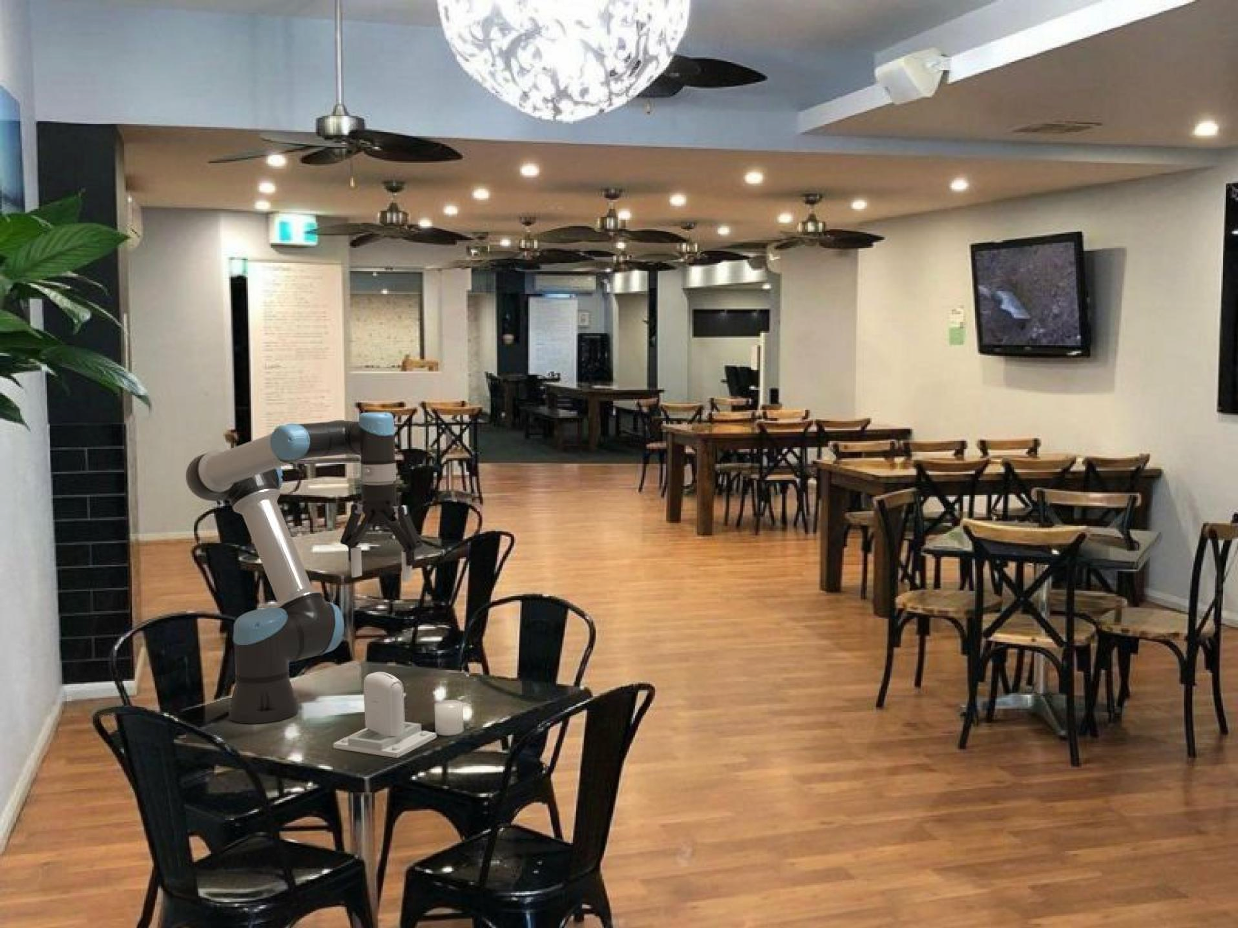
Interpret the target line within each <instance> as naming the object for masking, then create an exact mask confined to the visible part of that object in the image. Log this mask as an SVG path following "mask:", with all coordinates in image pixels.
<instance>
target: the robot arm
mask: <svg viewBox="0 0 1238 928" xmlns="http://www.w3.org/2000/svg"><path fill="white" fill-rule="evenodd" d="M394 421H395V420H394V416H393V414H392V413H390V412H388V411H387V412H385V411H384V412H380V411H379V412H376V411H375V412H362V413H360V414H359V416H358V421H357V420H355V421H354V420H345V419H338V420H337V419H336V420H335V419H334V420H329V421H326V422H325V421H324V422H323V421H322V422H311V423H289V424H285V425H283V424H282V425H279V426H277V427H275V428H274V430H273V431H272V432H271V433H270V434H267V435H264V436H262V437H259V438H256V439H253V440H251V441H248V442H245V443H243V444H241V445H237V446H234V447H233V448H232V447H231V448H229V449H226V450H224V451H217V450H216V451H215V450H214V451H213V450H212V451H210V452H206V453H203V454H200V455H197V456H196V457H194V458H193V459H192V460H191V461H190V463H189V464H188V466H187V467H186V471H185V481H186V485H187V486H188V489H189V490H190V492H191V493H192V494H194V495H195V496H197V497H198V498H200V499H202V500H203V501H204V500H205V501H210V502H219V501H220V502H221V501H229V503H230V505H231V507H232V510H233V512H235V513H237V514H240V515H242V518H243V519H244V522H245V525H246V527H247V530H248V533H249V535H250V537H251V539H252V542H253V544H254V547H255V550H256V552H257V555H258V557H259V559H260V562H261V564H262V567H263V568H264V572H265V575H266V576H267V577H266V578H267V579H268V582H269V584H270V586H271V589H272V592H273V594H274V596H275V597H274V598H275V600H276V602H277V604H276V606H275V607H266V608H258V609H254V610H251V611H247V612H245V613H243V614H241V615H240V616H238V617H237V619H235V621H234V624H233V636H232V641H233V646H234V647H233V649H234V670H235V672H234V673H235V685H234V688H233V693H232V697H231V700H230V704H229V706H228V718H229V720H230V721H233V722H236V723H240V724H267V723H273V722H279V721H284V720H286V719H289V718H292V717H294V716H295V715H297V714H298V712H299V701H298V698H297V697H296V695H295V692H294V689H293V686H292V683H291V681H290V680H291V679H290V667H289V666H290V665H289V664H290V663H292V662H293V663H294V662H297V661H300V660H305V659H308V658H312V657H317V656H318V657H320V656H323V655H324V654H327V653H329V652H332V651H334V650H335V649H336V648H338V646H339V645H340V644H341V642H342V639H343V634H344V632H345V630H344V629H345V621H344V617H343V612H342V611H341V608H339V606H338V605H336V604H335V603H333V602H330V601H326V600H325V598H324V594H323V593H322V592H321V591H320V590H318V589H315V588H313V586H312V583H311V582H310V579H309V576H308V573H307V572H306V569H305V567H304V565H303V561H302V559H301V557H300V555H299V551H298V550H297V547H296V545H295V542H294V539H293V537H292V535H291V533H290V530H289V528H288V524H287V523H286V521H285V518H284V516H283V513H282V511H281V508H280V507H279V504H278V499H279V497H280V495H281V492H280V489H281V488H282V485H283V481H284V480H283V478H282V477H283V470H282V468H281V467H284V466H285V465H289V464H291V463H295V462H298V461H301V460H305V459H313V458H323V457H333V456H346V455H349V456H350V455H354V456H355V455H356V456H357V455H358V456H360V480H361V482H362V483H363V484H361V500H362V501H363V503H361V502H357V503H352V504H351V505H350V514H349V517H348V519H347V522H346V524H345V527H344V530H343V533H342V535H341V537H340V540H339V542H340V544H341V545H345V546H346V547H347V548H348V549H347V550H348V561H349V562H351V563H350V565H351V567H350V568H351V569H350V570H351V578H357V577H361V576H363V572H362V571H363V570H362V569H363V565H362V546H360V542H361V541H362V539H363V538H364V537H365V535H366V534H367V533H368V531H369V530H370V528H371V527H372V526H376V525H378V526H385V527H386V528H388V529H389V530H390V531H391V533H392V534H393V536H394V537H395V539H396V540H397V541H398V542H399V544H400V546H401V547H402V548H403V550H402V551H401V554H400V556H401V580H402V582H408V581H412V580H413V566H414V565H415V563H416V562H415V551H416V550H417V549H420V548H422V547H423V543H422V541H421V538H420V536H419V534H418V531H417V529H416V527H415V525H414V522H413V520H412V518H411V516H410V510H409V506H408V505H407V504H405V505H404V504H403V505H399V506H397V505H396V504H397V503H396V500H397V498H398V496H397V484H396V483H395V481H396V480H397V469H396V468H397V467H396V466H397V465H396V437H395V436H396V434H395V433H396V430H395V423H394ZM362 513H363V514H364V517H363V518H362V520H361V517H362ZM397 517H398V518H397ZM360 520H361V521H360ZM359 523H360V524H359ZM358 525H359V526H358Z"/></svg>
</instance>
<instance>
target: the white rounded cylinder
mask: <svg viewBox="0 0 1238 928" xmlns="http://www.w3.org/2000/svg"><path fill="white" fill-rule="evenodd" d="M463 705H464V703H463V701H462V700H459V699H458V700H457V699H446V700H440V701H437V702H435V703H434V726H435V727H434V728H435V731H434V733H436V735H440V736H454V735H460V734H461V733H463V732H464V706H463Z"/></svg>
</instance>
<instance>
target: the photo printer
mask: <svg viewBox="0 0 1238 928" xmlns="http://www.w3.org/2000/svg"><path fill="white" fill-rule="evenodd" d="M404 690H405V689H404V685H403V683H402V681H401V680H400V679H398V678H397V677H396V676H394V675H393V674H390V673H387V672H385V671H377V672H376V671H375V672H372V673H371V672H370V673H369V674H367V675H366V676H365V677H364V680H363V705H364V709H363V710H364V724H365V725H364V726H365V728H367V729H370V730H373V731H376V732H379V733H382V734H385V735H389V736H399V735H402V734H403V733H404V732H405V722H406V721H405V719H406V718H405V696H404V693H405V691H404Z"/></svg>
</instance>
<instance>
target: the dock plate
mask: <svg viewBox="0 0 1238 928" xmlns="http://www.w3.org/2000/svg"><path fill="white" fill-rule="evenodd" d="M436 738H437V733H436V732H432V731H428V730H422V724H421V723H418V722H411V721H410V722H409V721H405V732H404V733H403V734H402V735H399V736H389V735H385V734H382V733H379V732H376V731H373V730H370V729H367V728H366V727H365V728H363V729H361V730H358V731H357V732H354V733H352V734H351V735H347V736H346V737H342V738H341V739H340V740H337V741H335V742H333V746H332V747H333V749H337V750H345V751H349V752H350V751H351V752H355V753H356V752H357V753H363V754H369V755H375V756H382V757H390V758H399V757H402V756H404V755H406V754H408V753H409V752H412V751H413V750H416V749H418V748H419V747H421V746H424V745H425V744H427V743H429V742H431V741H432V740H435V739H436Z"/></svg>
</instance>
